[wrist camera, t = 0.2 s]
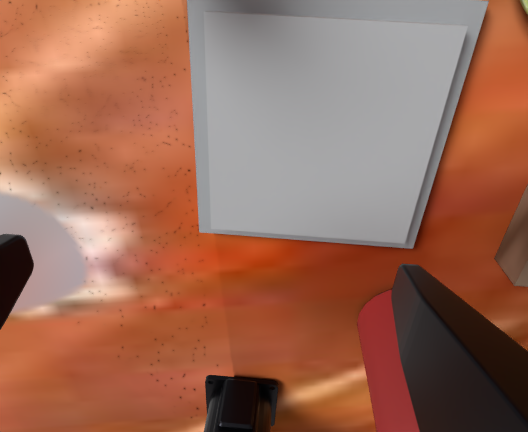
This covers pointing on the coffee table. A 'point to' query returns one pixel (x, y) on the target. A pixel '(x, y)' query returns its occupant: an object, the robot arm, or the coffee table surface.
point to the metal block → (516, 246)
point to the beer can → (385, 367)
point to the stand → (324, 113)
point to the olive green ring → (525, 5)
